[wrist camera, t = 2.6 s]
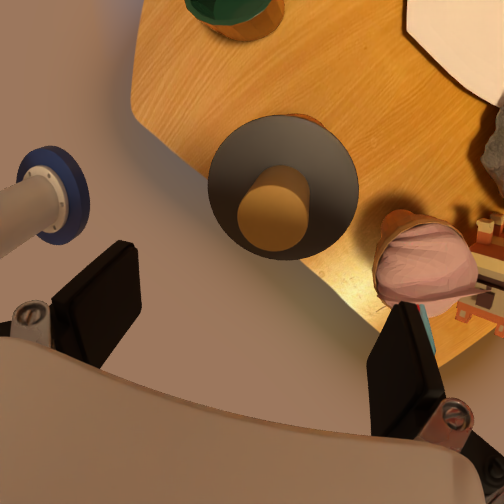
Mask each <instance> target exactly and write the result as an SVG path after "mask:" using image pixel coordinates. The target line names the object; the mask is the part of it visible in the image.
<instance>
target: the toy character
mask: <svg viewBox="0 0 504 504" xmlns="http://www.w3.org/2000/svg"><path fill="white" fill-rule="evenodd" d="M490 219H491V220H488V219H484V218H482V219H479V220H477V223H476V225H478V233H477V240H476V243H475V244H473V245H472V246H470V247H469V250H470V251H471V253H472V255H473V257H474V259H475V261H476V263H477V268H478V277H477V282H476V284H475V287H474V288H476V289H480V290H493V291H489V292H485V293H480V294H476V295H471V296H467V297H462V298H460V299H459V300H458V303H457V307H456V308H458V309H457V313H456V317H455V319H456V320H459V321H461V322H464V323H468V321H469V320H470V319H471V316H472V314H474V315H476V316H479V317H481V318H484V319H487V320H489V321H492V322H495V323H497V327H496V330H495V333H494V335H497V336H499V337H502V338H504V234H502V231H503V224H504V215H503V214H499V213H495V212H494V213H492V214H490Z"/></svg>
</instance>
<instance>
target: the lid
mask: <svg viewBox="0 0 504 504" xmlns="http://www.w3.org/2000/svg"><path fill="white" fill-rule="evenodd" d="M208 194H209V200H210V204H211V208H212V210H213V213H214V215H215V217H216V219H217V221H218V223H219V224H220V226H221V227H222V229H223V230H224V231H225V232H226V233H227V235H228V236H229V237H230V238H231V239H232V240H234V241H235V242H236V243H237V244H238V245H240V246H241V247H243V248H244V249H246V250H248V251H250V252H252V253H254V254H256V255H259V256H261V257H265V258H269V259H276V260H298V259H303V258H307V257H310V256H313V255H316V254H318V253H320V252H322V251H324V250H325V249H327V248H328V247H330V246H331V245H333V244H334V243H335V242H336V241H337V240H338V239H339V238H340V237H341V236H342V235H343V234H344V233H345V231H346V230H347V228H348V227H349V225H350V223H351V221H352V219H353V217H354V214H355V211H356V208H357V203H358V198H359V184H358V177H357V173H356V169H355V166H354V164H353V161H352V159H351V157H350V155H349V153H348V152H347V150H346V149H345V147H344V146H343V145H342V143H341V142H340V141H339V140H338V139H337V138H336V137H335V136H334V135H333V134H332V133H331V132H329V131H328V130H327V129H325V128H324V127H322V126H320V125H319V124H317V123H315V122H313V121H310V120H307V119H305V118H301V117H297V116H290V115H272V116H266V117H262V118H258V119H255V120H252V121H250V122H248V123H246V124H244V125H242V126H241V127H239V128H238V129H236V130H235V131H234V132H232V133H231V134H230V135H229V136H228V137H227V138H226V139H225V140H224V142H223V143H222V144H221V145H220V147H219V148H218V150H217V152H216V154H215V156H214V158H213V160H212V163H211V166H210V170H209V176H208Z"/></svg>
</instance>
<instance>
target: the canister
mask: <svg viewBox="0 0 504 504" xmlns="http://www.w3.org/2000/svg"><path fill="white" fill-rule="evenodd" d="M185 4H186V7H187V9H188V10H189V11H190V12H191V13H192V14H193V15H194V16H195V17H196V18H197V19H198V20H199V21H201V22H203V23H204V24H206V25H207V26H209V27H211V28H212V29H214V30H215V31H217V32H218V33H220V34H221V35H224V36H226V37H228V38H230V39H233V40H237V41H253V40H257V39H260V38H263V37H265V36H267V35H268V34H270V33H271V32H273V31H274V30H275V29H276V28H277V27H278V25H279V24H280V22H281V21H282V18H283V16H284V9H285V4H284V0H185Z"/></svg>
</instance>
